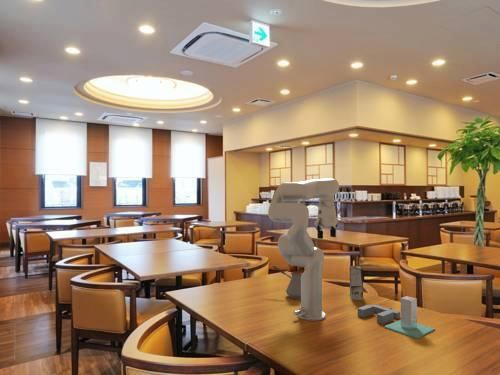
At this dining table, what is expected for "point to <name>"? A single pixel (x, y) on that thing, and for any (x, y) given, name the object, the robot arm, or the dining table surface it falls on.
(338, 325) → the dining table surface
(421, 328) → the mat
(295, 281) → the coffee pot
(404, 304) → the steel bar
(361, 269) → the coffee box
